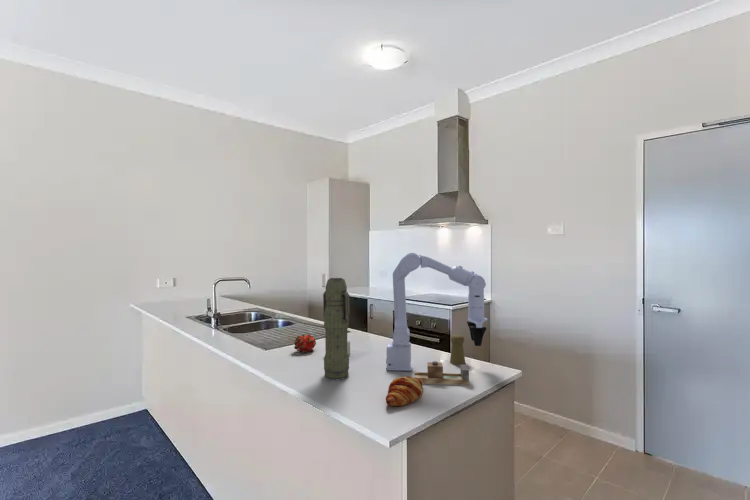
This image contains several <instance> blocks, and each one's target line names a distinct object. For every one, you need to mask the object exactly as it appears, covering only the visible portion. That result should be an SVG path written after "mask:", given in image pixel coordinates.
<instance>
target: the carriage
mask: <svg viewBox="0 0 750 500" xmlns="http://www.w3.org/2000/svg"><path fill="white" fill-rule="evenodd" d="M427 372H428V378H443V373H444V366H443V362H438V361H436V360H434V361H431V362H430V361H427Z"/></svg>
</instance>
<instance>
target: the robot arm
mask: <svg viewBox="0 0 750 500" xmlns="http://www.w3.org/2000/svg"><path fill="white" fill-rule="evenodd" d="M419 267H420V268H421V269H425V268H430V269H433V270H434V271H438V272H440V273H442V274H445V275H448V278H449V280H450V281H452V282H455V283H457V284H459V285H462V286H465V287H468V294H467V298H468V299H467V300H468V301H467V304H468V305H467V307H468V309H467V310H468V313H467V315H468V317H467V321H466V324H467V326H468V328H469V332H470V337H471V338H470V339H471V341H473V343H474V346H475V347H482V343H483V338H484V335H485V333H486V331H487V327H486V326H483V324H484V322H487V321H488V318H487V317H485V294H484V292H485V287H486V284H487V283H486V281H485V279H484V277H483V276H482V275H479V274H477V273H475V271H473V270H472V271H470V270H467V269H465V268H464V267H463V266H462V265H453V266H448V265H446V264H444V263H442V262H440V261H438V260H436V259H433V258H431V257H428V256H426V255H421V254H417V253H415V252H410V253H407V254H406V255H405V256H403V257H402V258H401V260H400V261H399V263H398V264H397V266H396V267H395V268H394V270H393V272H392V288H393V289H392V290H393V308H394V310H393V312H394V330H393V334H392V342H391V343H387V344H386V359H385V363H386V370H387V371H405V372H409V371H410V372H412V371H413V363H412V342H410V334H411V331H410V328H409V327H408V319H407V304H406V303H407V302H406V301H407V300H406V299H407V298H406V281H405V280H406V277H407V276H408V275H409V274H410V273H412V272H414V271H416V270H417V269H419Z"/></svg>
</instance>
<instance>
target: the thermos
mask: <svg viewBox="0 0 750 500" xmlns="http://www.w3.org/2000/svg"><path fill="white" fill-rule="evenodd" d="M347 286H348V285H347V283H346V280H345V278H343V277H330V278H328V279H327V280H326V284H325V291H324V292H323V294H322V297H323V298H322V301H323V303H322V304H323V316H322V317H323V328H324V329H325V333H324V334H325V335H324V336H325V338H324V339H325V345H324V346H325V354H324V357H323V370H324V378H325V377H326V378H325V379H327V378H328V379H327V380H330V379H335V380H334V381H337V380H336V379H340V380H343V379H344V380H345V379H347V378H349V373H350V372H349V369H350V355H348V353H347V341H348V328H349V325H350V324H349V323H350V319H351V318H350V317H351V307H350V306H351V296H350V294H349V292H348V291H347V289H348V288H347ZM346 377H347V378H346Z"/></svg>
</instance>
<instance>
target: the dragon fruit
mask: <svg viewBox="0 0 750 500" xmlns="http://www.w3.org/2000/svg"><path fill="white" fill-rule="evenodd" d="M316 345H317V341H316V339H315V337H314V335H313V336H312V335H311V334H310V333H307V334H302V335H297V337H296V338H295V340H294V347H293V348H294V349H295V350H296V351H297V352H299V353H301V354H302V353H304V352H305V353H310V352H312V351H314V348H315V347H316Z"/></svg>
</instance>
